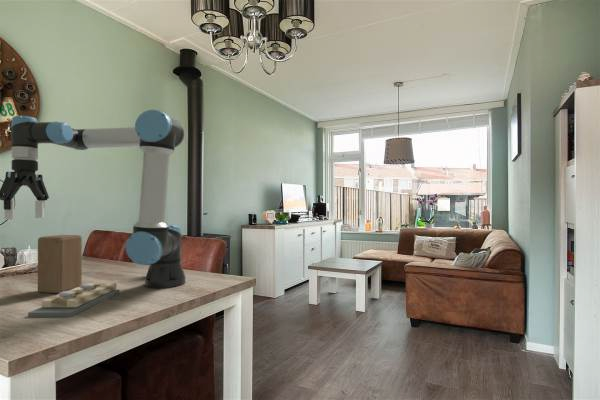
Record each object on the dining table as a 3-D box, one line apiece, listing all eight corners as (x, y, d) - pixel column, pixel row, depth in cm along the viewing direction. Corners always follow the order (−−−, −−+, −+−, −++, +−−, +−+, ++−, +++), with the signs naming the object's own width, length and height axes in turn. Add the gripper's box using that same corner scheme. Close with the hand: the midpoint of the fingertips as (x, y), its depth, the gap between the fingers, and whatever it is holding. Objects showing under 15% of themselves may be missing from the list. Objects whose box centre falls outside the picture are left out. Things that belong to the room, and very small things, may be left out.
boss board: (85, 292, 124) (85, 278, 124) (119, 292, 124) (119, 278, 124) (28, 316, 98) (28, 298, 98) (70, 316, 98) (70, 298, 98)
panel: (88, 288, 124) (88, 283, 124) (116, 288, 124) (116, 283, 124) (42, 307, 102) (42, 300, 102) (75, 307, 102) (75, 300, 102)
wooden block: (59, 294, 122) (59, 237, 122) (36, 292, 124) (36, 237, 124) (82, 287, 132) (82, 234, 132) (60, 286, 134) (60, 234, 134)
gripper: (40, 163, 138) (41, 217, 138) (-17, 155, 113) (-17, 220, 113) (59, 163, 138) (59, 216, 138) (5, 155, 113) (6, 220, 113)
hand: (25, 218), depth 125 cm, fingers open, 13 cm apart
